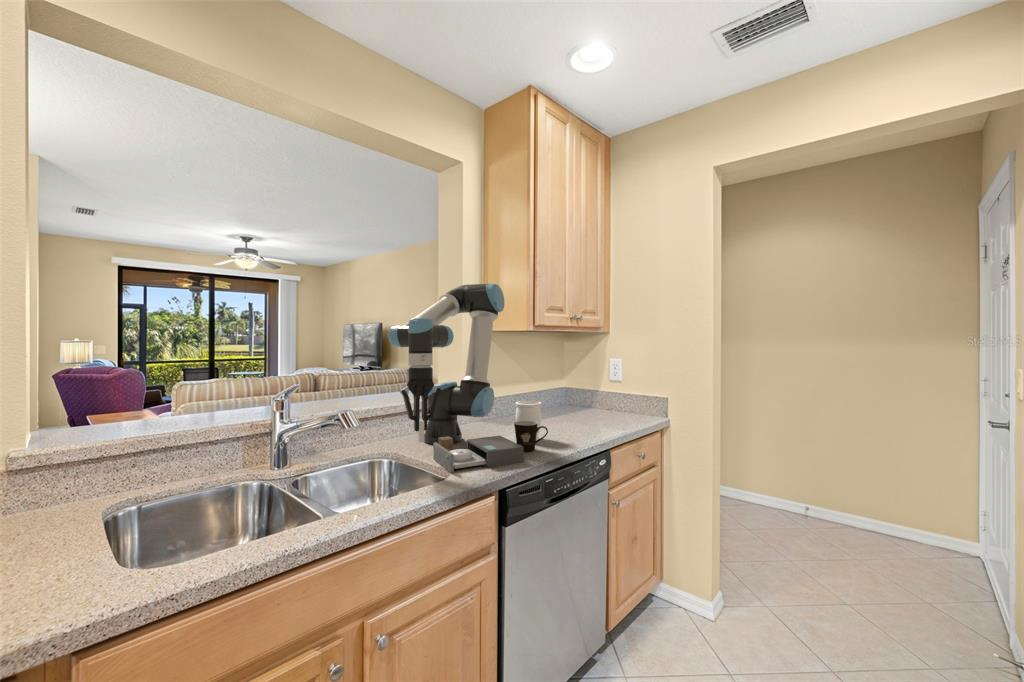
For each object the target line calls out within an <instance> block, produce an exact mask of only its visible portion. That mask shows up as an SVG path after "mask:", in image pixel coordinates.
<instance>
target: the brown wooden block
mask: <svg viewBox="0 0 1024 682" xmlns="http://www.w3.org/2000/svg"><path fill="white" fill-rule="evenodd" d="M439 445H441V446H442V447H444V448H445V449H446V450H448V451H451V450H454V443H453V438H451V437H449V436H448V437H440V438H439Z"/></svg>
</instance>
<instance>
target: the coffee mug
mask: <svg viewBox="0 0 1024 682" xmlns="http://www.w3.org/2000/svg"><path fill="white" fill-rule="evenodd" d="M513 424H514V431H515V432H514V433H515V443H517V444H519V445H521V446H523V453H533V452H535V450H536V444H537V443H538V442H540V441H542V440H544V438H545V437H547V435H548V433H549V431H548V428H547V427H546V426H544V425H540V427H538V428H537V425H538V423H537V422H535V421H517V422H516V421H515V422H514V423H513ZM539 429H540V430H541V429H545V430H546V432H545V434H544V435H543V436H542V437H539V440H537V441H536V434H537V432H538V430H539Z"/></svg>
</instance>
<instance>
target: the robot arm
mask: <svg viewBox="0 0 1024 682" xmlns="http://www.w3.org/2000/svg"><path fill="white" fill-rule="evenodd" d="M504 308H505V296H504V292H503V290H502V288H501V287H500V285H499V284H496V283H488V282H487V283H479V284H478V283H477V284H476V283H475V284H473V283H472V284H463V285H459V286H456V287H455V288H452V289H451V290H449V291H447V292H445V293H444V294H442V295H441V296H440V297H439V299H438V301H437V302H435V303H433V304H432V305H431V306H430V307H427V308H426V309H425V310H423V311H422V312H420V313H419V314H418V315H416V316H414V317H412V318H410V319H409V321H407V322H406V323H405V324H403V325H400V324H398V325H394V326H391V327H390V329H389V330H388V334H387V337H388V341H389V343H390V345H391V346H392V347H395V348H396V347H397V348H408V366H410V367H408V368H407V369H408V372H407V373H408V377H407V378H408V382H407V383H406V386H405V387H404V388H401V389H399V393H400V394H401V396H402V397H403V402H404V405H405V406H404V407H405V409H406V414H407V418H408V419H410V420H411V421H413V423H414V424H413V429H414V431H415V432H416V439H417V440H416V441H418V442H419V443H425V444H429V445H433V443H435V442H437V443H438V444H439V438H440V437H448V436H449V437H451V438H453V444H456V443H459V442H461V441H462V439H463V434H462V431H461V427H460V425H459V422H458V416H460V417H461V416H462V417H472V418H485V417H486V416H488V415H489V413H490V412H492V409H493V406H494V403H495V391H494V389H493V388H492V387H491V382H489V380H488V372H489V362H490V354H491V353H490V352H491V345H492V337H493V327H494V321H495V320H497V319H498V318H499V317H498V316H499V313H501V312H503V311H504ZM463 313H465V314H466V313H469V314H468V315H469V316H470V318H471V327H470V336H469V343H468V350H467V351H468V352H467V359H466V366H465V375H464V377H463V378H462V379H461V380H460V383H459V385H458V382H457V381H448V382H447V381H446V382H439V383H434V381H433V380H434V379H433V378H434V375H433V374H434V373H433V370H434V369H433V367H432V366H433V351H434V350H433V348H445V347H446V348H448V347H449V346H451V344H452V343H453V341H454V331H453V330H452V328H451V327H450V326H447V325H443V324H442V323H443V322H444V321H446V320H447V319H448V318H450V317H454V316H457V315H458V314H463ZM409 391H410V392H409ZM409 393H411V394H412V395H413V396H412V397H413V408H412V404H411V400H410V396H409ZM420 400H421V402H420ZM420 403H421V406H420ZM420 407H421V412H420ZM420 413H421V418H420Z"/></svg>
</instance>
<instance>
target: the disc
mask: <svg viewBox="0 0 1024 682" xmlns="http://www.w3.org/2000/svg"><path fill="white" fill-rule="evenodd" d="M449 452H451V453H452V454H453V455H454V462H463V461H468V460H471V459H472V451H471V450H467V448H465V449H464V448H458V449H453V450H451V451H449Z"/></svg>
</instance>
